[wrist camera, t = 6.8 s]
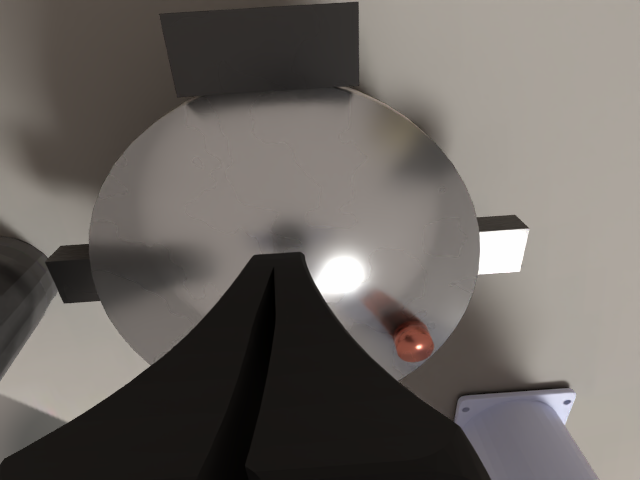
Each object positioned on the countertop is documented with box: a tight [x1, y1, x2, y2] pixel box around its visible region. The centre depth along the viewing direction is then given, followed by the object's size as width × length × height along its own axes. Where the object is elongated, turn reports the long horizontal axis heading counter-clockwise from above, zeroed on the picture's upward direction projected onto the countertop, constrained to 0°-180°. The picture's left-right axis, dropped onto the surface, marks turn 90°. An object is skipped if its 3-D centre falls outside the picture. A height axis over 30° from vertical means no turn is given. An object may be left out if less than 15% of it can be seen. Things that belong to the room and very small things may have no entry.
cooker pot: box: [45, 86, 529, 303], centre depth 18 cm, size 13×19×6 cm
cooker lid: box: [89, 2, 480, 381], centre depth 14 cm, size 15×14×2 cm
